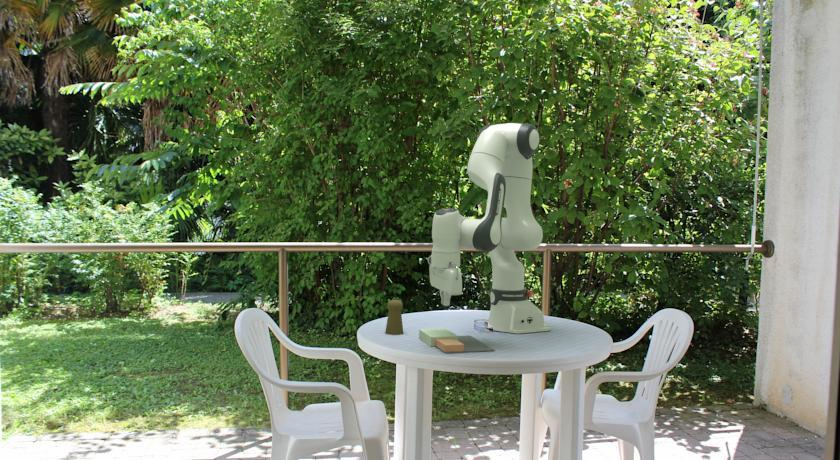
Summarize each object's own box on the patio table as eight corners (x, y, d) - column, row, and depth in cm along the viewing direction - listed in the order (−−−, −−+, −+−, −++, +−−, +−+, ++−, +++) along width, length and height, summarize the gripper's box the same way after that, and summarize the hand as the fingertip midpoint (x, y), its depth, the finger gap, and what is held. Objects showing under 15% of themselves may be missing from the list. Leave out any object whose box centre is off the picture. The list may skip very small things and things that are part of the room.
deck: (445, 337, 235) (445, 328, 235) (457, 345, 224) (458, 335, 223) (418, 338, 232) (419, 329, 232) (430, 346, 221) (430, 337, 221)
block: (453, 344, 223) (453, 338, 223) (463, 351, 214) (464, 344, 214) (435, 345, 221) (435, 338, 221) (445, 351, 213) (445, 345, 212)
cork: (399, 335, 236) (400, 302, 236) (382, 333, 238) (383, 300, 238) (405, 332, 242) (406, 299, 241) (389, 330, 244) (390, 298, 243)
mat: (469, 336, 237) (469, 335, 237) (495, 351, 217) (495, 349, 217) (423, 338, 232) (423, 337, 232) (445, 353, 212) (445, 352, 212)
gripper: (467, 264, 213) (467, 310, 214) (444, 256, 232) (444, 299, 233) (447, 265, 211) (447, 311, 212) (426, 257, 230) (425, 299, 231)
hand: (445, 305), depth 223 cm, fingers closed
